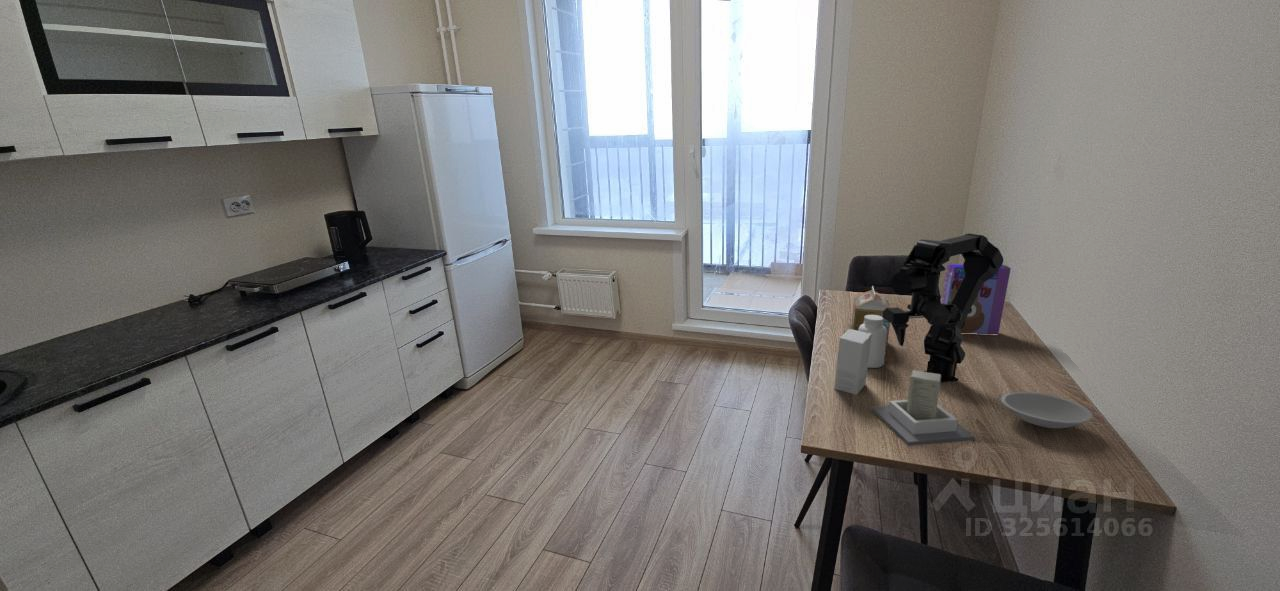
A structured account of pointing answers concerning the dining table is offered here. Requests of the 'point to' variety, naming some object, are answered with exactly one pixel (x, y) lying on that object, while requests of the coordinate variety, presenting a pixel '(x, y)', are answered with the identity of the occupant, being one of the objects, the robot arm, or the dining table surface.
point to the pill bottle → (875, 339)
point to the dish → (1046, 409)
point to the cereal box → (979, 299)
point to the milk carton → (869, 309)
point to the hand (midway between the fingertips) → (917, 344)
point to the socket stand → (921, 425)
